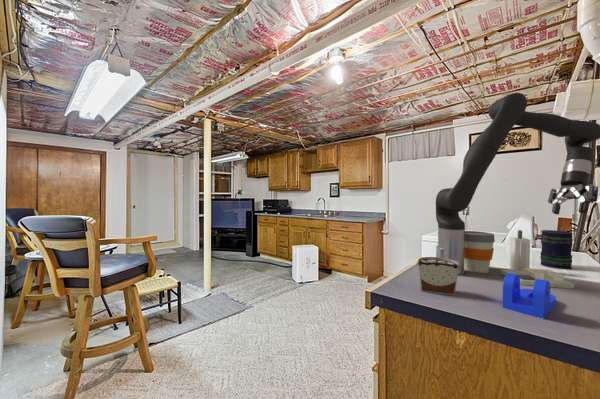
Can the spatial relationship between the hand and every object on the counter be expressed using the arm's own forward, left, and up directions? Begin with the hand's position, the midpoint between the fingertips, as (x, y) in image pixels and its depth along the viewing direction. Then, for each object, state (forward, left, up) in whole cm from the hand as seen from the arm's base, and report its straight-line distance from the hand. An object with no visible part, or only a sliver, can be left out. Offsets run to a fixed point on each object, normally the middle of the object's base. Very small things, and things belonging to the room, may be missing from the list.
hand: (568, 213), depth 99 cm
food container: (-52, -27, -24) cm, 63 cm away
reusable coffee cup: (-30, +2, -24) cm, 38 cm away
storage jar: (+6, +16, -24) cm, 30 cm away
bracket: (-29, -33, -24) cm, 50 cm away
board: (-15, -8, -24) cm, 29 cm away
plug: (-13, +5, -24) cm, 28 cm away
